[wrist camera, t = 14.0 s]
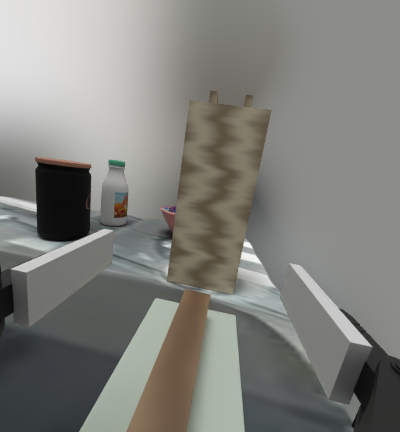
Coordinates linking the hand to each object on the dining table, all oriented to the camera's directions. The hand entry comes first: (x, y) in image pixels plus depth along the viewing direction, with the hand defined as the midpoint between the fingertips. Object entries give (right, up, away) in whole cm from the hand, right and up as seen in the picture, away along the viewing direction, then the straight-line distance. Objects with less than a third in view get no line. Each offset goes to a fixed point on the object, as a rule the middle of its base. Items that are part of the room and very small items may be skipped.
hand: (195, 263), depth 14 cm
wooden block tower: (+1, -8, +24) cm, 26 cm away
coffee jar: (-34, -1, +34) cm, 48 cm away
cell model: (-3, -3, +48) cm, 48 cm away
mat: (-1, -12, +6) cm, 14 cm away
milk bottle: (-28, +1, +48) cm, 56 cm away
